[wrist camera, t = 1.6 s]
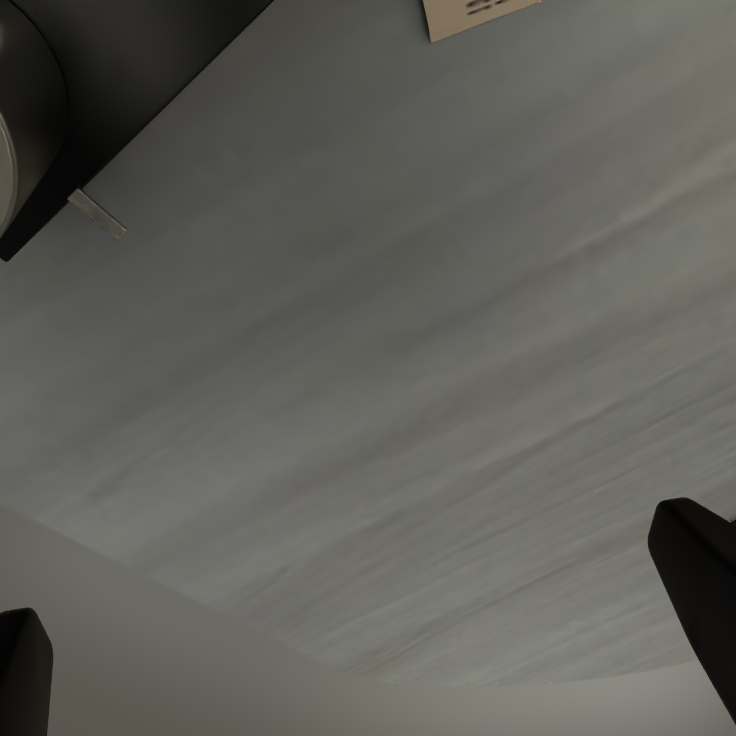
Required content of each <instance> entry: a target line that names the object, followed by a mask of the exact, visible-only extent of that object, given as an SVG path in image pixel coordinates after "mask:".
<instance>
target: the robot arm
mask: <svg viewBox="0 0 736 736" xmlns="http://www.w3.org/2000/svg"><path fill="white" fill-rule="evenodd" d="M648 548H649V552H650V554H651V557H652V559H653V561H654V563H655V566H656V568H657V570H658V573H659V575H660V577H661V579H662V582H663V584H664V586H665V588H666V591H667V593H668V595H669V598H670V600H671V602H672V604H673V607H674V609H675V611H676V613H677V616H678V618H679V620H680V622H681V625H682V627H683V629H684V632H685V634H686V636H687V638H688V640H689V642H690V644H691V646H692V648H693V650H694V652H695V654H696V656H697V657H698V659H699V661H700V663H701V665H702V666H703V668H704V670H705V672H706V673H707V675H708V677H709V679H710V680H711V682H712V684H713V686H714V688H715V689H716V691H717V693H718V695H719V696H720V698H721V699H722V702H723V703H724V705H725V707H726V709H727V710H728V712H729V714H730V716H731V717H732V719H733V721H734V723H735V724H736V526H735V525H733V524H732V523H730V522H728V521H727V520H725V519H723V518H722V517H720V516H718V515H717V514H715V513H713V512H712V511H710V510H708V509H707V508H705V507H703V506H701V505H700V504H698V503H696V502H695V501H693V500H691V499H689V498H684V497H682V498H675V499H669V500H664V501H661V502H660V503H659V504H658V505H657V507H656V511H655V514H654V518H653V521H652V524H651V528H650V531H649V535H648ZM52 668H53V649H52V644H51V642H50V639H49V637H48V635H47V633H46V631H45V629H44V627H43V625H42V623H41V621H40V619H39V617H38V615H37V613H36V612H35V611H34V610H33V609H32V608H21V609H15V610H9V611H4V612H1V613H0V736H47V728H48V717H49V705H50V692H51V681H52Z"/></svg>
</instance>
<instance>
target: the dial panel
mask: <svg viewBox="0 0 736 736" xmlns="http://www.w3.org/2000/svg"><path fill="white" fill-rule="evenodd" d="M8 1H9V2H10V3H11V4H13V5H14V6H15V7H16V8H17V9H18V10H19V11H21V12H22V13H23V14H24V15H25V17H26V18H27V19H28V20H29V21H30V22H31V23H32V24H33V25H34V26H35V28H36V29H37V30H38V32H39V33H40V34H41V36H42V37H43V38H44V40H45V41H46V43H47V45H48V46H49V48H50V50H51V51H52V53H53V55H54V57H55V59H56V62H57V64H58V66H59V68H60V71H61V74H62V77H63V80H64V83H65V88H66V94H67V100H68V121H67V129H66V133H65V137H64V140H63V143H62V145H61V148H60V150H59V152H58V154H57V155H56V157H55V159H54V160H53V162H52V164H51V165H50V166H49V168H48V169H47V171H46V172H45V174H44V175H43V177H42V178H41V180H40V181H39V183H38V184H37V186H36V187H35V189H34V190H33V192H32V193H31V195H30V196H29V197H28V199H27V200H26V202H25V203H24V205H23V206H22V208H21V209H20V211H19V212H18V214H17V215H16V217H15V218H14V220H13V221H12V223H11V224H10V226H9V227H8V229H7V230H6V231H5V233H4V234H3V236H2V237H1V238H0V258H1V259H2V260H4V261H5V262H7V261H9V260H10V259H11V258H12V257H13V256H14V255H15V254H16V253H17V252H18V251H19V250H20V249H21V248H22V247H23V246H24V245H25V244H26V243H27V242H28V241H29V240H30V239H31V238H32V237H34V236H35V235H36V234H37V233H38V232H39V231H40V230H41V229H42V228H43V227H44V226H45V225H46V224H47V223H48V222H49V221H50V220H51V219H52V218H53V217H54V216H55V215H56V214H57V213H58V212H59V211H60V210H61V209H62V208H63V207H64V206H65V205H66V204H67V203H68V202H69V201H70V202H71V203H73V204H74V205H75V206H76V207H77V208H79V209H80V210H81V211H82V212H83V213H84V214H86V215H87V216H88V217H89V218H90V219H92V220H93V221H94V222H95V223H96V224H97V225H99V226H100V227H101V228H102V229H103V230H104V231H106V232H107V233H108V234H109V235H110V236H112V237H113V238H114V239H115V240H116V241H117V240H118V239H119V238H120V237H121V236H122V235H123V234H125V233H126V232H127V228H126V227H125V226H123V225H122V224H121V223H120V222H119V221H118V220H116V219H115V218H114V217H113V216H112V215H111V214H110V213H108V212H107V211H106V210H105V209H104V208H103V207H101V206H100V205H99V204H98V203H97V202H96V201H95V200H93V199H92V198H91V197H90V196H89V195H88V194H87V193H85V192H84V191H83V190H82V188H83V187H84V186H85V185H86V184H88V183H89V182H90V181H91V180H92V179H93V178H94V177H95V176H96V175H97V174H98V173H99V172H100V171H101V170H102V169H103V168H104V167H105V166H106V165H107V164H108V163H109V162H110V161H111V160H112V159H113V158H114V157H115V156H116V155H117V154H118V153H119V152H120V151H121V150H122V149H123V148H124V147H125V146H126V145H127V144H128V143H129V142H130V141H131V140H132V139H133V138H134V137H135V136H136V135H137V134H138V133H139V132H140V131H142V130H143V129H144V128H145V127H146V126H147V125H148V124H149V123H150V122H151V121H152V120H153V119H154V118H155V117H156V116H157V115H158V114H159V113H160V112H161V111H162V110H163V109H164V108H165V107H166V106H167V105H168V104H169V103H170V102H171V101H172V100H173V99H174V98H175V97H176V96H177V95H178V94H179V93H180V92H181V91H182V90H183V89H184V88H185V87H186V86H187V85H188V84H189V83H190V82H191V81H192V80H193V79H194V78H196V77H197V76H198V75H199V74H200V73H201V72H202V71H203V70H204V69H205V68H206V67H207V66H208V65H209V64H210V63H211V62H212V61H213V60H214V59H215V58H216V57H217V56H218V55H219V54H220V53H221V52H222V51H223V50H224V49H225V48H226V47H227V46H228V45H229V44H230V43H231V42H232V41H233V40H234V39H235V38H236V37H237V36H238V35H239V34H240V33H241V32H242V31H243V30H244V29H245V28H246V27H247V26H248V25H250V24H251V23H252V22H253V21H254V20H255V19H256V18H257V17H258V16H259V15H260V14H261V13H262V12H263V11H264V10H265V9H266V8H267V7H268V6H269V5H270V4H271V3H272V2H273V1H274V0H8Z"/></svg>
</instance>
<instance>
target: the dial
mask: <svg viewBox="0 0 736 736" xmlns="http://www.w3.org/2000/svg"><path fill="white" fill-rule="evenodd" d="M67 121H68V100H67V94H66V88H65V83H64V80H63V77H62V74H61V71H60V68H59V66H58V64H57V62H56V59H55V57H54V55H53V53H52V51H51V50H50V48H49V46H48V45H47V43H46V41H45V40H44V38H43V37H42V36H41V34H40V33H39V32H38V30H37V29H36V28H35V26H34V25H33V24H32V23H31V22H30V21H29V20H28V19H27V18H26V17H25V15H24V14H23V13H22V12H21V11H19V10H18V9H17V8H16V7H15V6H14V5H13V4H11V3H10V2H9V1H8V0H0V238H1V237H2V236H3V234H4V233H5V231H6V230H7V229H8V227H9V226H10V224H11V223H12V221H13V220H14V218H15V217H16V215H17V214H18V212H19V211H20V209H21V208H22V206H23V205H24V203H25V202H26V200H27V199H28V197H29V196H30V195H31V193H32V192H33V190H34V189H35V187H36V186H37V184H38V183H39V181H40V180H41V178H42V177H43V175H44V174H45V172H46V171H47V169H48V168H49V166H50V165H51V164H52V162H53V160H54V159H55V157H56V155H57V154H58V152H59V150H60V148H61V145H62V143H63V140H64V137H65V133H66V129H67Z"/></svg>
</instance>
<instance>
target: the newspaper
mask: <svg viewBox="0 0 736 736" xmlns="http://www.w3.org/2000/svg"><path fill="white" fill-rule="evenodd" d="M540 1H543V0H423V4H424V9H425V13H426V18H427V22H428V27H429V35H430V42H431V43H432V42H435V41H438V40H440V39H443V38H446V37H448V36H451V35H454V34H456V33H459V32H461V31H464V30H467V29H469V28H472V27H475V26H477V25H480V24H483V23H485V22H488V21H490V20H493V19H496V18H498V17H501V16H504V15H506V14H509V13H511V12H514V11H517V10H519V9H522V8H525V7H527V6H530V5H533V4H535V3H538V2H540Z"/></svg>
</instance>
